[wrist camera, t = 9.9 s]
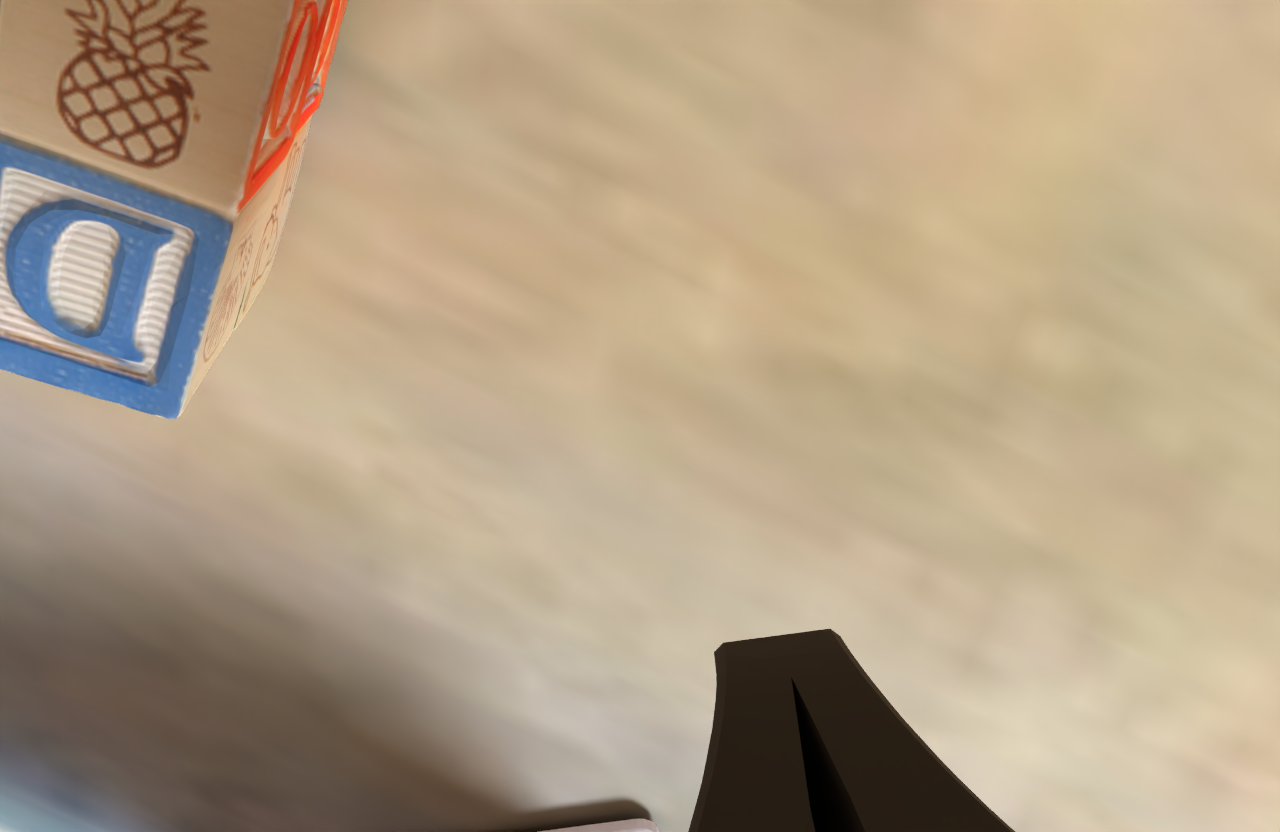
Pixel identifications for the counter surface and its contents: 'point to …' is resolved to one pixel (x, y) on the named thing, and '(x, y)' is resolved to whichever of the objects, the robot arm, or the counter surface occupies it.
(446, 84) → the counter surface
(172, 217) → the stack of blocks
